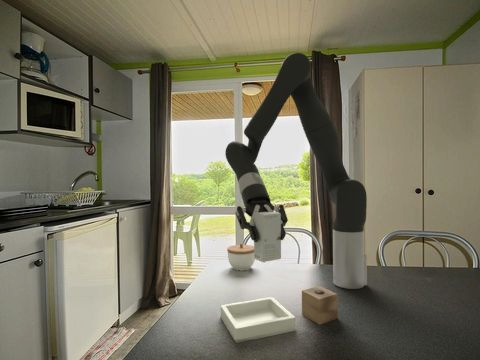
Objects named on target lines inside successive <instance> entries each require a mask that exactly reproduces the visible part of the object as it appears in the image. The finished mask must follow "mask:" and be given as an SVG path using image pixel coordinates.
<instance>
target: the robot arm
mask: <svg viewBox="0 0 480 360" xmlns="http://www.w3.org/2000/svg"><path fill="white" fill-rule="evenodd" d="M311 71H312V65H311V61H310V58H309V57H308V56H307V55H306V54H304V53H303V52H293V53H290V54H288V55H287V56H286V57H285V58H284V60H283V61H282V63H281V66H280V69H279V70H278V73H277V76H276V77H275V80H274V82H273V84H272V85H271V87H270V89H269V91H268V92H267V95H266V96H265V98H264V99H263V101H262V102H261V103H260V105H259V107H258V108H257V109H256V111H255V113H254V114H253V116H252V117H251V119H250V120H249V122H248V124H247V125H246V127H245V128H244V130H243V134H244V135H245V137H246V138H247V139H248V143H247V145H246V144H244V143H243V142H241V141H239V140H232V141H231V142H229V143H228V144H227V146H226V148H225V159H226V161H227V162H228V165H229V166H230V168H231V169H232V171H233V173H234V174H235V176H236V179H237V183H238V188H239V194H240V196H241V199H242V202H243V206H244V207H242V206H241V205H238V206H237V207H236V209H235V216H236V219H237V221H238V223H239V227H240V229H242V230H245V229H246V230H247V231H248V233H249V236H250V238H251V239H250V240H252V241H253V243H254V242H258V239H259V236H258V233H257V230H256V226H254V223H255V221H254V213H260V212H277V213H281V241H283V240H285V238H286V235H287V233H286V230H285V228H284V227H286V224H287V223H288V221H289V219H288V217H287V213H286V210H285V207H284V205H283V204H279V205H278V206H274V204H273V203H272V202H271V198H270V195H269V192H268V190H267V186H266V185H265V182H264V180H263V179H262V176H261V174H260V170H259V169H258V167H257V165H256V164H255V163H256V161H257V159H258V155H259V154H260V150H261V148H262V144H263V143H264V142H263V141H264V140H265V138H266V136H267V135H268V133H269V132H270V131H271V129H272V127H273V125H274V124H275V122H276V121H277V119H278V116H279V115H280V113H281V111H282V110H283V107H284V106H285V104H286V103H287V101H288V100H289V98H290V97H291V99H292V100H293V103H294V104H295V108H296V110H297V113H298V117H299V120H300V123H301V127H302V130H303V132H304V134H305V137H306V139H307V142H308V145H309V146H310V148H311V150H312V153H313V155H314V157H315V160H316V162H317V163H318V166H319V168H320V170H321V173H322V175H323V178H324V182H325V185H326V188H327V191H328V195H329V198H330V201H331V202H332V203H333V204H334V205H336V209H335V211H336V213H335V218H334V220H332V268H333V269H332V270H333V271H332V275H333V277H332V279H333V280H332V281H333V282H332V283H333V285H335V286H337V287H339V288H342V289H348V290H358V289H362V288H364V287H365V286H367V285H368V281H367V280H368V278H367V277H368V274H367V273H368V271H367V266H368V263H367V259H368V258H367V254H366V253H365V243H364V242H365V241H364V240H365V239H364V238H365V235H364V231H365V230H364V228H365V224H366V220H367V207H368V205H367V203H368V201H367V200H368V199H367V197H368V196H367V190H366V188H365V186H364V184H363V183H362V182H361V181H358V180H356V179H351V178H350V176H349V175H348V172H347V171H346V168H345V165H344V164H343V160H342V150H341V149H342V148H341V141H340V137H339V133H338V131H337V129H336V126H335V124H334V121H333V119H332V117H331V115H330V114H329V113H328V111H327V109H326V108H325V106H324V105H323V103H322V102H321V100H320V99H319V97H318V96H317V93H316V91H315V88H314V84H313V81H312V77H311ZM245 214H246V215H248V217H250V220H249V221H247V218H246V216H245Z"/></svg>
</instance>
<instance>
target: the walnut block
mask: <svg viewBox="0 0 480 360" xmlns="http://www.w3.org/2000/svg"><path fill="white" fill-rule="evenodd" d="M338 301H339V300H338V293H336V292H335V291H334V292H333V291H332V290H329V289H327V288H325V287H322V286H321V285H319V286H314V287H310V288H306V289H303V290H301V315H302V316H304V317H306V318H308V319H309V320H311V321H312V322H314V323H316V324H318V325H323V324H325V323H328V322H331V321H334V320H337V319H339V318H338V317H339V314H338V313H339V311H338V303H339V302H338Z"/></svg>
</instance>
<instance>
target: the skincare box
mask: <svg viewBox="0 0 480 360" xmlns="http://www.w3.org/2000/svg"><path fill="white" fill-rule="evenodd" d="M254 221H255V223H254V226H256V230H257V233H258V236H259V239H258V242H254V241H253V246H254V258H255V260H256V261H259V262H262V263H267V262H270V261H276V260H281V259H282V240H281V213H277V212H275V211H274V212H260V213H254Z"/></svg>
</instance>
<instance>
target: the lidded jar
mask: <svg viewBox="0 0 480 360" xmlns="http://www.w3.org/2000/svg"><path fill="white" fill-rule="evenodd" d="M226 249H227V258H228V260H227V261H228V263H229V264H230V266H231V268H233V269H234V270H235V269H236V270H235V271H238V270H240V272H242V271H244V270H245V271H249V270H250V268H251V267H252V266H253V265H254V263H255V260H256V259H255V258H254V245H249V244H244V243H242V242H241V243H239V244H234V245H229V246H228V247H227V248H226Z"/></svg>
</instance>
